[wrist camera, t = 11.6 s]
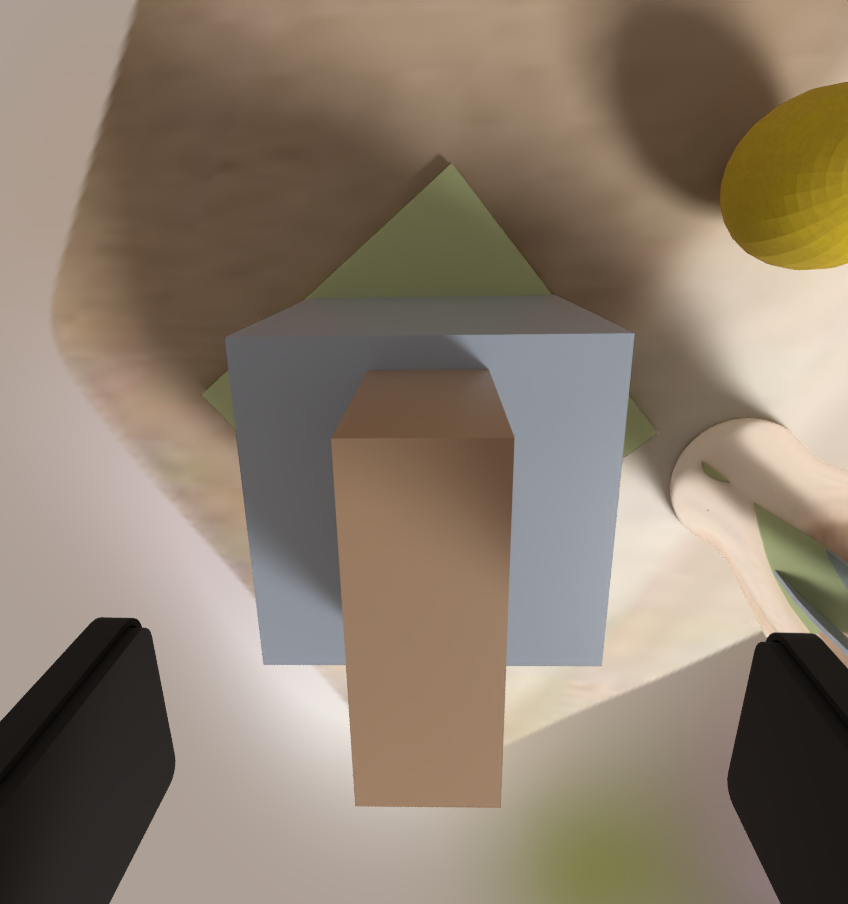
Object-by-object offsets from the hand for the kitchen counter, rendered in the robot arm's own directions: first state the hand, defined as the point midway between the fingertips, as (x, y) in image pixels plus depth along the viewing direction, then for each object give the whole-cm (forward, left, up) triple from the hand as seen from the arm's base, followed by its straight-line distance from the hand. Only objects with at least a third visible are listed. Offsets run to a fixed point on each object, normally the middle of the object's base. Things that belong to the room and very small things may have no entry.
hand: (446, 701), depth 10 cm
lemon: (-15, +1, -19) cm, 24 cm away
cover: (0, 0, -18) cm, 18 cm away
